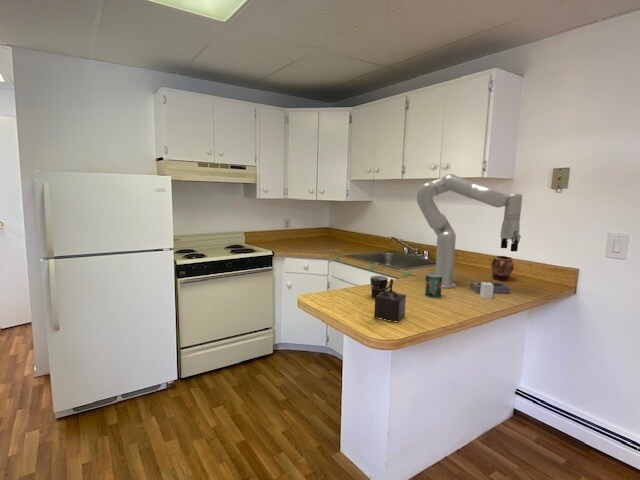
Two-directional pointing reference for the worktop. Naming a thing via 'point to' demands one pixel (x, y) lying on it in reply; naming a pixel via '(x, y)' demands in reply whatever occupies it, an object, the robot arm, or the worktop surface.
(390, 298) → the manual coffee grinder
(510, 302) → the worktop surface
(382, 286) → the coffee mug
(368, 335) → the worktop surface
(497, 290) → the power strip
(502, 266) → the decorative planter
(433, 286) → the canned tomato
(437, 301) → the worktop surface
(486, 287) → the block
